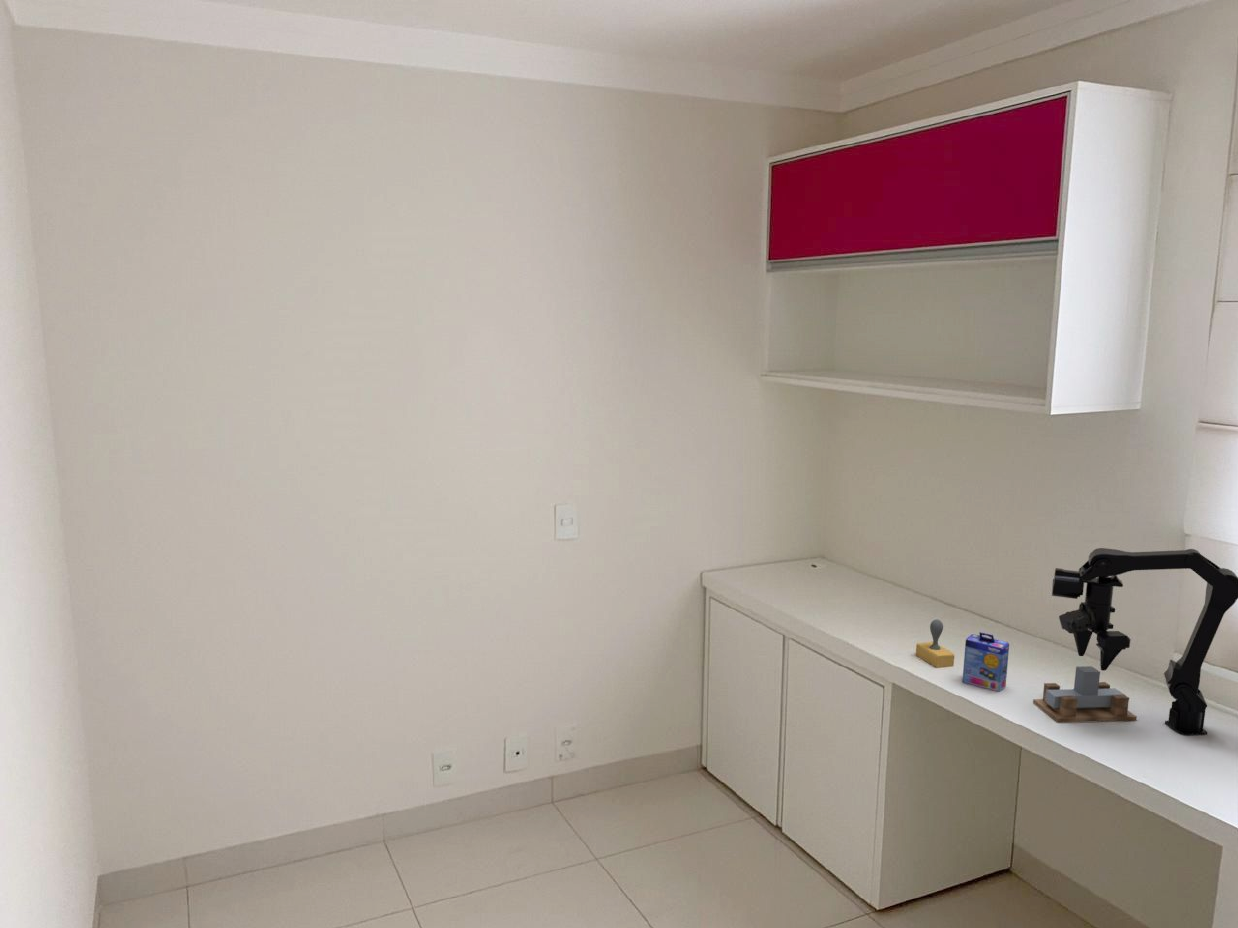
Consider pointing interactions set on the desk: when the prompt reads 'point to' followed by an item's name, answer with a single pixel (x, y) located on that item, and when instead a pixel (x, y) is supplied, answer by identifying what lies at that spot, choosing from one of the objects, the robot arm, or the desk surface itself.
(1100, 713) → the cradle
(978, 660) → the ink cartridge box
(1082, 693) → the bar
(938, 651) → the rubber stamp
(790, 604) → the desk surface
